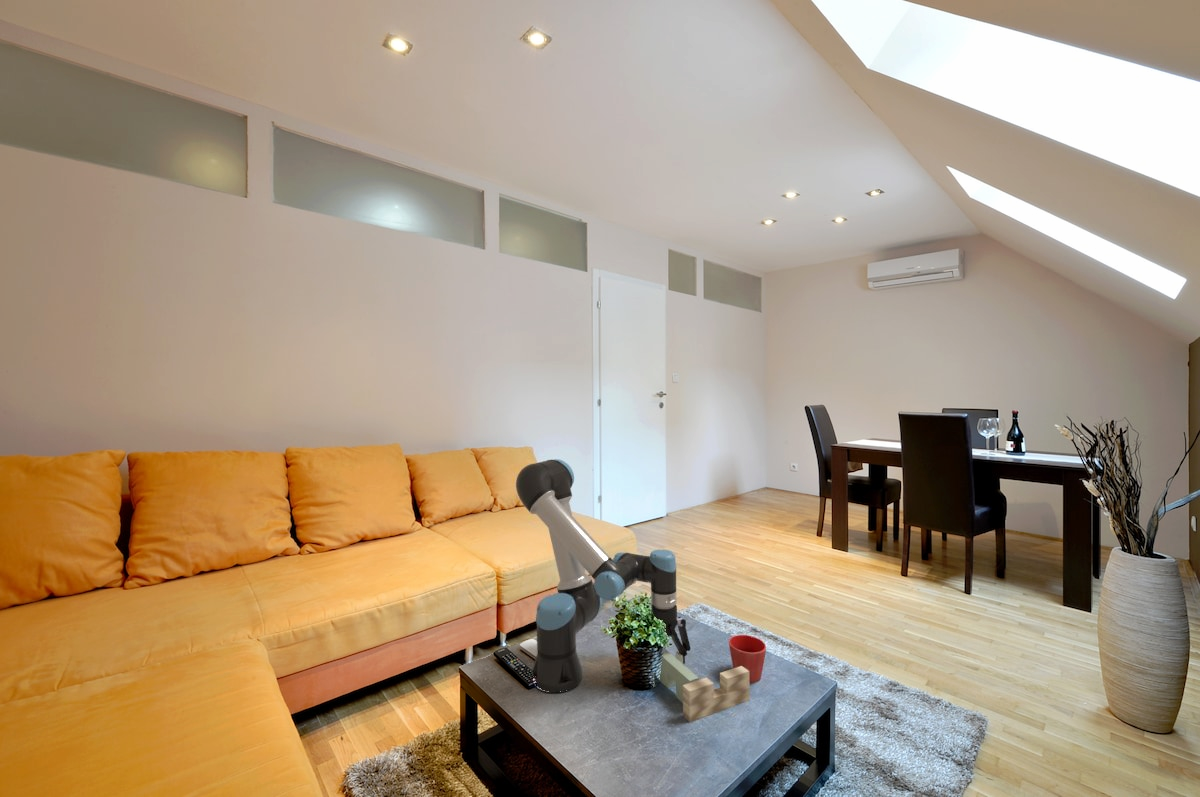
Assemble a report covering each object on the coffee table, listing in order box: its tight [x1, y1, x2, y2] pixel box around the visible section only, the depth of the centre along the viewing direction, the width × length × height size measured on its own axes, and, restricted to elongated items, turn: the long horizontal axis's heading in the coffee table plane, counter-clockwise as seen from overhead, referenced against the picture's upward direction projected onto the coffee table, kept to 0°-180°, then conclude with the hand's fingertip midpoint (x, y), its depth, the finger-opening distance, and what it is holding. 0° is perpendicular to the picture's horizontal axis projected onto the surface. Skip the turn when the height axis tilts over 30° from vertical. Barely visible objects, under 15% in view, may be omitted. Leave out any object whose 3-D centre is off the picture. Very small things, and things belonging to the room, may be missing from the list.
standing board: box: [682, 666, 751, 723], centre depth 130 cm, size 20×3×8 cm, turn 115°
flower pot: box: [728, 634, 767, 683], centre depth 145 cm, size 11×11×10 cm
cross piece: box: [659, 648, 700, 704], centre depth 138 cm, size 18×3×8 cm, turn 25°
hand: (665, 679), depth 143 cm, fingers open, 9 cm apart
